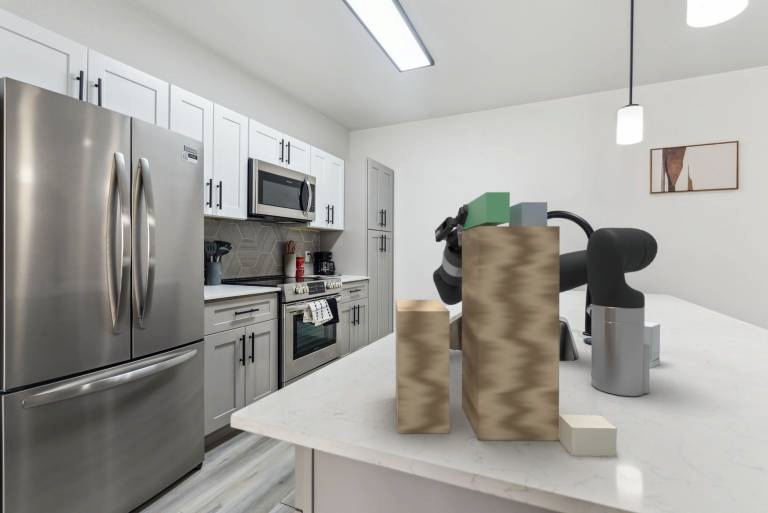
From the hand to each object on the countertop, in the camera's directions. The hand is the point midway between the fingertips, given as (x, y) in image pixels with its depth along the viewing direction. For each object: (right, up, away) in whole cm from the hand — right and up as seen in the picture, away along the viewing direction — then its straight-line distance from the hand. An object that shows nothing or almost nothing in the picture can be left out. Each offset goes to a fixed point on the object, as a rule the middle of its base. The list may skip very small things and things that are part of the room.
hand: (476, 208), depth 67 cm
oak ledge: (-11, -36, -4) cm, 38 cm away
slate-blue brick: (+7, -4, -7) cm, 11 cm away
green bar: (0, -4, -3) cm, 5 cm away
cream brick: (+12, -37, -15) cm, 41 cm away
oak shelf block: (+3, -36, -7) cm, 37 cm away
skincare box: (+47, -36, +27) cm, 65 cm away
